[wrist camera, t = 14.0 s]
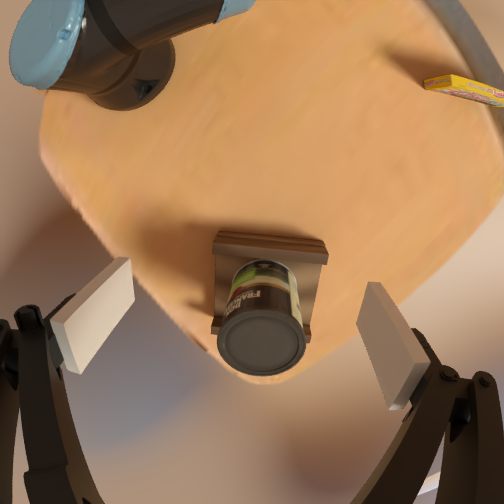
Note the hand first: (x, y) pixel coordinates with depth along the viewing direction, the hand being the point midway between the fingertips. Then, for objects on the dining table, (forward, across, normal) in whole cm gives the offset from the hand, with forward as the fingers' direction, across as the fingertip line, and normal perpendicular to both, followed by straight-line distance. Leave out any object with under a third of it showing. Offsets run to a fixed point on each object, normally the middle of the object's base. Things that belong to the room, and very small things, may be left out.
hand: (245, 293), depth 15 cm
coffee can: (+27, +2, -14) cm, 30 cm away
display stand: (+29, +2, -14) cm, 32 cm away
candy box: (+29, +32, +23) cm, 49 cm away
